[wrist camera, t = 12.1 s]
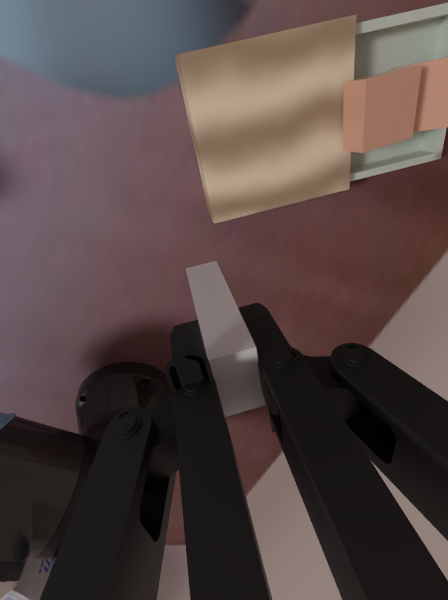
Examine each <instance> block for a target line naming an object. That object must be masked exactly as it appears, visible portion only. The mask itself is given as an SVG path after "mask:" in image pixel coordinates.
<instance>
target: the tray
mask: <svg viewBox="0 0 448 600" xmlns="http://www.w3.org/2000/svg"><path fill="white" fill-rule="evenodd" d="M447 56H448V3H444V4H440V5H435V6H431V7H427V8H422V9H418V10H413V11H409V12H404V13H400V14H395V15H391V16H386V17H382V18H378V19H373V20H369V21H364V22H360V23H356V35H355V60H354V80H355V79H359V78H362V77H366V76H370V75H374V74H378V73H382V72H386V71H389V70H391V68H394V67H399V66H404V65H409V64H413V63H418V62H423V61H428V60H432V59H437V58H442V57H447ZM446 129H447V127H446V128H439V129H432V130H425V131H419V132H413V137H412V138H409V139H406V140H403V141H400V142H396V143H393V144H390V145H387V146H383V147H380V148H377V149H374V150H371V151H367V152H364V153H358V152H351V161H350V181H354V180H358V179H362V178H366V177H370V176H374V175H378V174H382V173H386V172H390V171H394V170H398V169H401V168H405V167H409V166H413V165H417V164H421V163H425V162H429V161H433V160H437V159H441V155H442V150H443V145H444V139H445V134H446Z"/></svg>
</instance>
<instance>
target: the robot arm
mask: <svg viewBox="0 0 448 600" xmlns="http://www.w3.org/2000/svg"><path fill="white" fill-rule="evenodd" d="M186 272H187V276H188V280H189V284H190V288H191V293H192V297H193V301H194V305H195V309H196V313H197V317H198V320H195V321H191V322H188V323H184V324H180V325H177V326H174V329H173V331H172V333H171V335H170V336H171V345H172V356H173V359H172V360H171V361H170V362H169V364H168V365H167V367H166V370H165V375H164V374H163V373H161V372H160V371H158V370H156V369H154V368H152V367H150V366H146V365H142V364H136V363H120V364H114V365H109V366H106V367H103V368H101V369H99V370H97V371H95V372H93V373H92V374H91V375H89V376H88V377H87V378H86V379H85V380H84V381H83V383H82V384H81V386H80V388H79V392H78V395H77V399H76V415H77V422H78V428H79V434H76V433H73V432H69V431H66V430H62V429H59V428H55V427H52V426H48V425H45V424H41V423H38V422H34V421H31V420H27V419H24V418H20V417H17V416H16V414H14V413H12V414H5V413H1V412H0V599H1V598H2V597H3V596H4V595H6V594H7V593H8V592H9V591H11V590H12V589H13V588H14V587H15V586H17V584H18V582H19V579H20V577H21V574H22V571H23V569H24V566H25V563H26V561H27V559H28V558H41V559H49V560H51V562H50V564H49V566H48V572H49V577H48V579H47V582H46V584H45V587H44V590H43V592H42V595H41V597H40V600H156V599H157V593H158V586H159V579H160V572H161V566H162V559H163V553H164V547H165V541H166V534H167V528H168V521H169V515H170V508H171V502H172V495H173V489H174V482H175V476H176V471H177V470H179V474H180V485H181V496H182V508H183V519H184V530H185V542H186V553H187V564H188V576H189V587H190V598H191V600H272V597H271V594H270V589H269V585H268V582H267V577H266V574H265V570H264V566H263V562H262V558H261V554H260V551H259V546H258V543H257V539H256V535H255V531H254V527H253V523H252V519H251V515H250V511H249V508H248V504H247V500H246V496H245V492H244V488H243V484H242V480H241V477H240V473H239V469H238V465H237V461H236V457H235V453H234V449H233V445H232V442H231V438H230V434H229V430H228V427H227V423H226V419H225V417H228V416H231V415H234V414H238V413H241V412H244V411H248V410H251V409H254V408H257V407H261V406H264V405H265V401H266V403H267V406H268V408H269V414H270V420H271V427H272V433H273V432H276V434H277V437H278V439H279V442H280V444H281V447H282V449H283V452H284V454H285V457H286V459H287V461H288V464H289V467H290V469H291V472H292V474H293V477H294V479H295V482H296V484H297V487H298V489H299V492H300V494H301V497H302V499H303V502H304V504H305V507H306V509H307V512H308V514H309V517H310V520H311V522H312V525H313V527H314V529H315V532H316V535H317V537H318V540H319V542H320V544H321V547H322V550H323V552H324V555H325V557H326V560H327V562H328V565H329V567H330V570H331V572H332V574H333V577H334V579H335V582H336V585H337V587H338V590H339V592H340V595H341V597H342V600H448V581H447V579H446V577H445V576H444V574H443V573H442V571H441V570H440V568H439V567H438V565H437V563H436V562H435V560H434V559H433V558H432V556H431V554H430V553H429V551H428V550H427V548H426V546H425V545H424V543H423V542H422V540H421V539H420V537H419V536H418V534H417V532H416V531H415V529H414V528H413V526H412V525H411V523H410V521H409V520H408V518H407V517H406V515H405V514H404V512H403V511H402V509H401V507H400V506H399V504H398V503H397V501H396V500H395V498H394V497H393V495H392V493H391V492H390V490H389V489H388V487H387V486H386V484H385V482H384V481H383V480H382V478H381V477H380V475H379V473H378V472H377V470H376V468H375V467H374V465H373V464H372V462H373V463H374V464H375V465H376V466H377V467H378V468H379V469H380V470H381V472H382V473H383V474H384V475H385V476H386V477H387V478H388V479H389V480H390V481H391V482H392V483H393V484H394V485H395V486H396V487H397V488H398V489H399V490H400V491H401V492H402V493H403V495H404V496H405V497H406V498H407V499H408V500H409V501H410V502H411V503H412V504H413V505H414V506H415V507H416V508H417V509H418V510H419V511H420V512H421V513H422V514H423V515H424V516H425V518H426V519H427V520H428V521H430V523H431V524H432V525H433V526H434V527H435V528H436V529H437V530H438V531H439V532H440V533H441V534H442V535H443V536H444V537H445V538H446V539H447V541H448V401H446V400H445V399H443V398H442V397H440V396H439V395H438V394H436V393H435V392H433V391H432V390H430V389H429V388H427V387H426V386H424V385H423V384H422V383H420V382H418V381H417V380H416V379H414V378H413V377H411V376H410V375H408V374H407V373H405V372H404V371H403V370H401V369H399V368H398V367H397V366H395V365H394V364H392V363H391V362H389V361H388V360H386V359H385V358H384V357H382V356H381V355H379V354H378V353H376V352H375V351H373V350H372V349H370V348H368V347H366V346H364V345H361V344H356V343H345V344H342V345H339V346H337V347H336V348H335V349H334V350H333V351H332V354H331V356H325V357H311V356H306V355H302V354H301V353H300V352H299V351H298V350H296V349H294V348H292V347H291V346H290V345H289V343H288V342H287V340H286V338H285V337H284V335H283V333H282V332H281V330H280V329H279V327H278V325H277V324H276V323H275V321H274V319H273V317H272V316H271V314H270V312H269V311H268V309H267V308H266V307H264V306H263V305H261V304H259V303H254V304H251V305H247V306H243V307H240V308H238V307H237V305H236V303H235V301H234V299H233V296H232V294H231V292H230V290H229V288H228V286H227V284H226V281H225V279H224V277H223V275H222V273H221V271H220V269H219V266H218V264H217V262H216V261H214V262H210V263H206V264H202V265H198V266H194V267H190V268H186ZM264 398H265V399H264ZM370 460H371V461H372V462H371V461H370Z"/></svg>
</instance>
